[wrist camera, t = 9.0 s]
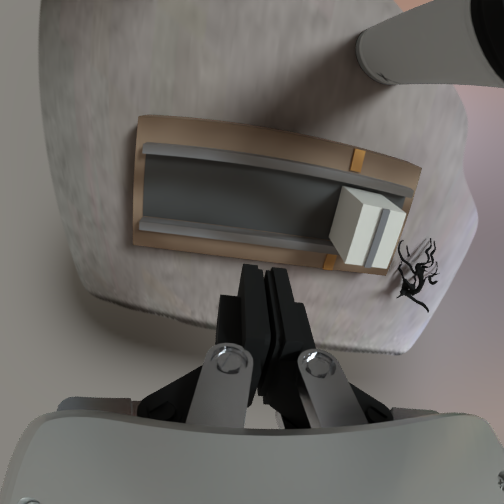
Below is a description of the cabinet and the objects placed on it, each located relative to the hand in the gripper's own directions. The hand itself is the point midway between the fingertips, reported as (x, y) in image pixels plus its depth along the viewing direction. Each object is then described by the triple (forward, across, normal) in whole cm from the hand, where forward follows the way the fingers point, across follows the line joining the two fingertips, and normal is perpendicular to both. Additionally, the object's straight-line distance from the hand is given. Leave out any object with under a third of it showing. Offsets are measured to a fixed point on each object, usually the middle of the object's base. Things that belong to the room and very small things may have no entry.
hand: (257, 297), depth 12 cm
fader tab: (+15, -10, +1) cm, 18 cm away
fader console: (+18, -3, +1) cm, 19 cm away
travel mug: (+19, -11, -15) cm, 27 cm away
